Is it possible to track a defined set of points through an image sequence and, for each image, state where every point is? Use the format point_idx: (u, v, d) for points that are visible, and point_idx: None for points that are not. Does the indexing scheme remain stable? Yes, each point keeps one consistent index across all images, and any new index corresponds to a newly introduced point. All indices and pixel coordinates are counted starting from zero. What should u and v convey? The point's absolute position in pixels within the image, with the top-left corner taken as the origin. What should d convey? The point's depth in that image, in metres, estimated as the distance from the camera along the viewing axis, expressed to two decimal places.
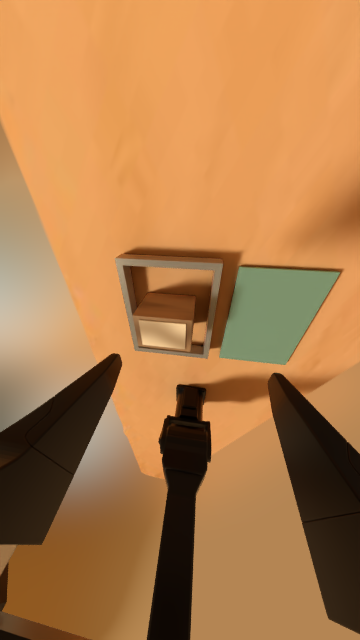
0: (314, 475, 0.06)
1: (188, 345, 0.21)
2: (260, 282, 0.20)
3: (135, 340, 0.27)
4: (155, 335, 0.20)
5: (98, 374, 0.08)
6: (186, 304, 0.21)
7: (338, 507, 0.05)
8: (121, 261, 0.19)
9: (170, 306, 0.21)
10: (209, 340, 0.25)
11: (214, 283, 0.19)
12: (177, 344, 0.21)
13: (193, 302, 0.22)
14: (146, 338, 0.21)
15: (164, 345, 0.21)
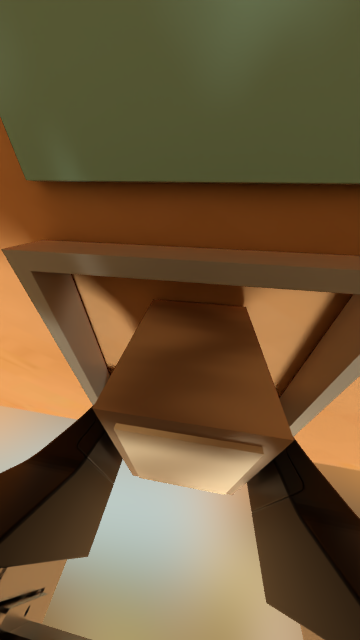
0: None
1: (242, 437, 0.04)
2: (25, 44, 0.04)
3: None
4: (185, 476, 0.07)
5: None
6: None
7: (272, 494, 0.05)
8: None
9: None
10: (316, 273, 0.05)
11: (63, 269, 0.06)
12: (227, 461, 0.05)
13: None
14: (199, 486, 0.07)
15: (231, 477, 0.06)
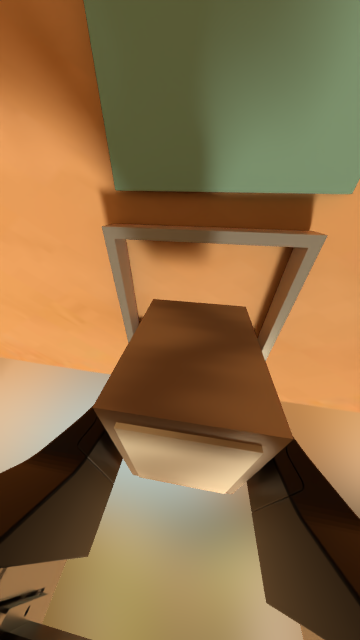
0: None
1: (241, 436, 0.04)
2: (130, 133, 0.10)
3: None
4: (185, 475, 0.07)
5: None
6: None
7: (272, 494, 0.05)
8: None
9: None
10: (261, 235, 0.11)
11: (133, 237, 0.12)
12: (227, 460, 0.05)
13: None
14: (199, 485, 0.07)
15: (231, 476, 0.06)
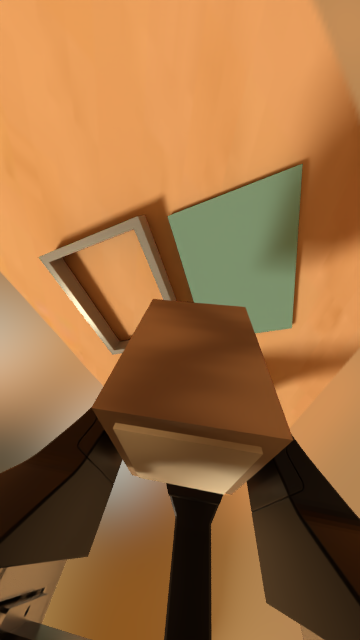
0: None
1: (241, 437, 0.04)
2: (201, 225, 0.15)
3: (106, 343, 0.25)
4: (184, 476, 0.07)
5: None
6: None
7: (272, 494, 0.05)
8: (45, 258, 0.18)
9: None
10: None
11: (142, 246, 0.16)
12: (226, 460, 0.05)
13: None
14: (198, 486, 0.07)
15: (230, 477, 0.06)
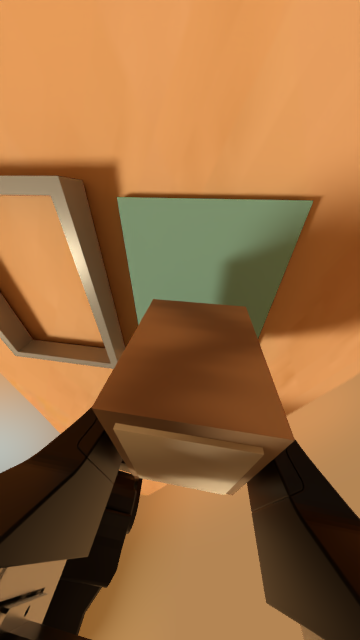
0: None
1: (242, 437, 0.04)
2: (163, 230, 0.10)
3: (6, 340, 0.17)
4: (185, 476, 0.06)
5: None
6: None
7: (272, 494, 0.05)
8: None
9: None
10: (109, 341, 0.15)
11: (64, 228, 0.10)
12: (227, 461, 0.05)
13: None
14: (199, 486, 0.07)
15: (231, 477, 0.06)
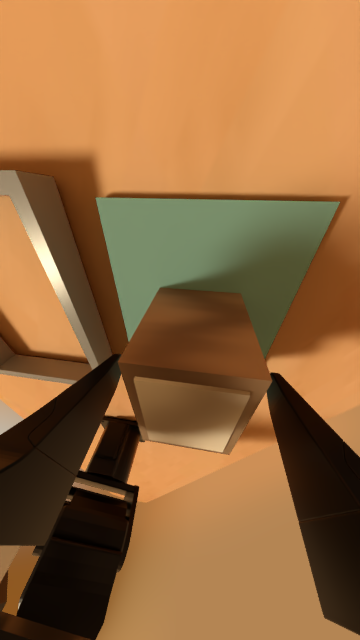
0: (311, 475, 0.06)
1: (233, 382, 0.05)
2: (154, 237, 0.09)
3: None
4: (189, 432, 0.08)
5: (100, 374, 0.08)
6: None
7: (334, 506, 0.05)
8: None
9: None
10: (95, 361, 0.13)
11: (31, 236, 0.08)
12: (223, 407, 0.06)
13: None
14: (200, 444, 0.08)
15: (227, 427, 0.07)
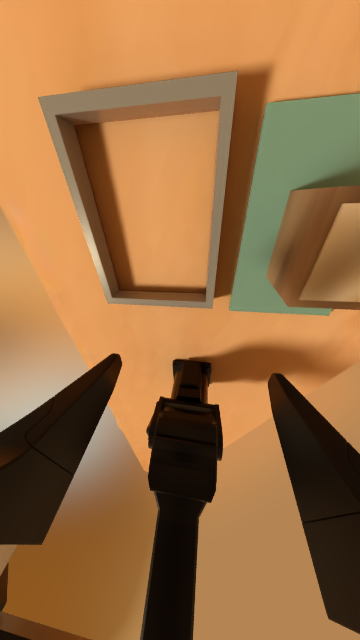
0: (314, 475, 0.06)
1: None
2: (303, 137, 0.11)
3: (105, 285, 0.18)
4: (348, 275, 0.10)
5: (98, 374, 0.08)
6: (299, 209, 0.11)
7: (338, 507, 0.05)
8: (50, 104, 0.11)
9: (293, 242, 0.12)
10: (214, 273, 0.16)
11: (220, 134, 0.11)
12: None
13: (300, 193, 0.11)
14: (349, 293, 0.11)
15: None
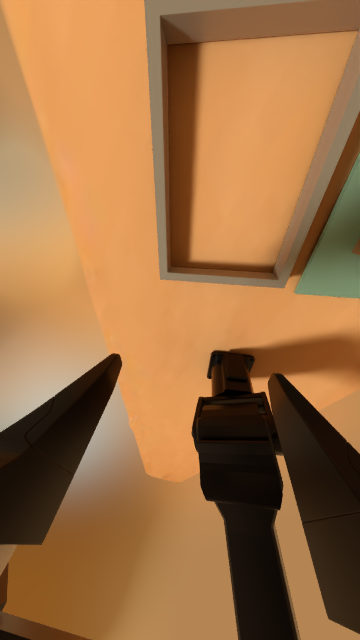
0: (314, 475, 0.06)
1: None
2: None
3: (163, 256, 0.16)
4: None
5: (98, 374, 0.08)
6: None
7: (338, 507, 0.05)
8: None
9: None
10: (301, 243, 0.14)
11: None
12: None
13: None
14: None
15: None
